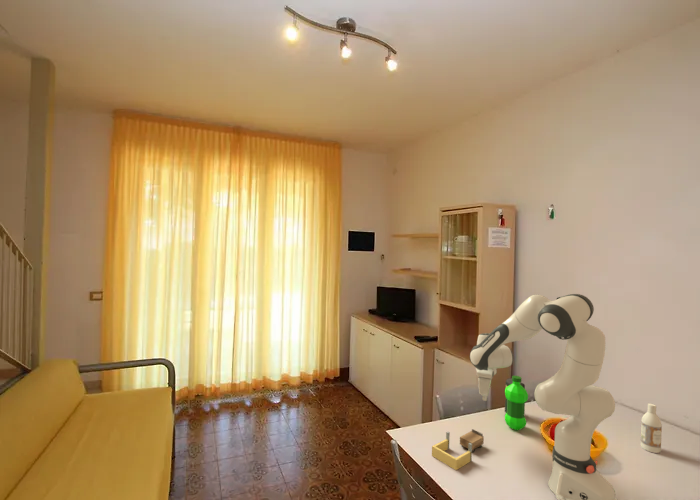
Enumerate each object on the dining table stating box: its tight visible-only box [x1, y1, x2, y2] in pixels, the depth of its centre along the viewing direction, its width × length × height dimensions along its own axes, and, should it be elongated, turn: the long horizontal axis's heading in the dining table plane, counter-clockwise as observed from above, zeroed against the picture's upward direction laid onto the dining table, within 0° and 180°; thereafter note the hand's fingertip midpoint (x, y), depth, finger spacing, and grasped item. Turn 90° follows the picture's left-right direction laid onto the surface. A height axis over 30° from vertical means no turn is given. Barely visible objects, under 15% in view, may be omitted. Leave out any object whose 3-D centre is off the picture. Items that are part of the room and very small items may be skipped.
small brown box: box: [459, 429, 485, 453], centre depth 156 cm, size 6×9×5 cm, turn 128°
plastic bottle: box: [504, 375, 529, 431], centre depth 174 cm, size 10×10×25 cm
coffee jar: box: [504, 377, 526, 414], centre depth 188 cm, size 10×8×19 cm
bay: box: [431, 431, 473, 471], centre depth 147 cm, size 12×11×7 cm
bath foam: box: [640, 402, 663, 454], centre depth 158 cm, size 7×7×20 cm
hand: (485, 398), depth 162 cm, fingers open, 4 cm apart
